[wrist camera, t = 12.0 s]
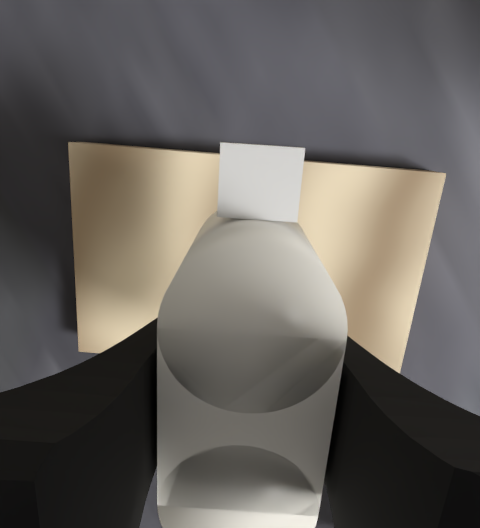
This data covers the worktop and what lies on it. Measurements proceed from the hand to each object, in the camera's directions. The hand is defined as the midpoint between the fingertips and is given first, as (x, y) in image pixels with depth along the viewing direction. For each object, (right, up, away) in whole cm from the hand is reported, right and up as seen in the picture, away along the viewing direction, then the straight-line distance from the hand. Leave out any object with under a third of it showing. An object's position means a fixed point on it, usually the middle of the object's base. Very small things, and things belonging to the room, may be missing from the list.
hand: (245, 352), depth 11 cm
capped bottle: (0, +1, +2) cm, 2 cm away
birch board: (0, +3, +8) cm, 9 cm away
